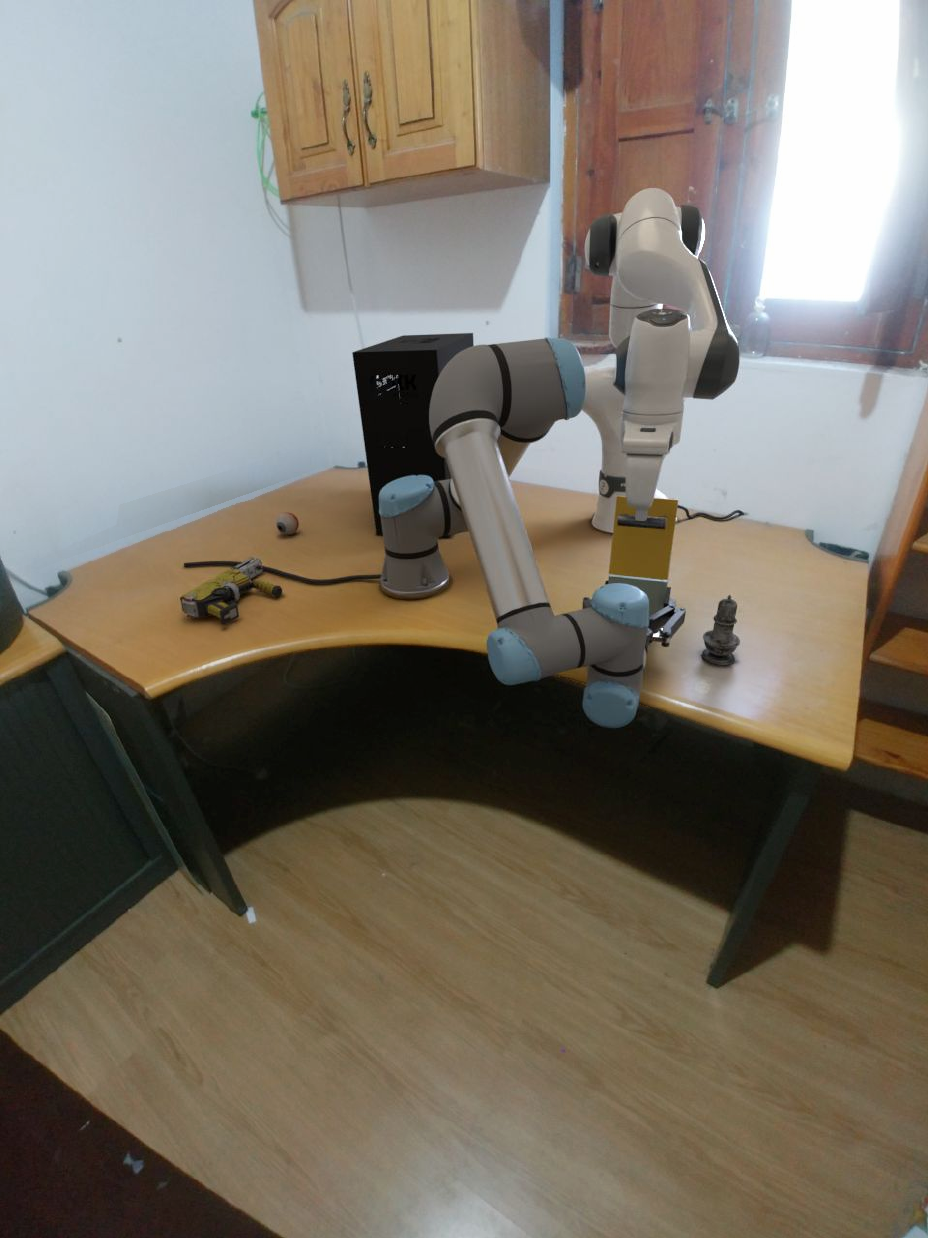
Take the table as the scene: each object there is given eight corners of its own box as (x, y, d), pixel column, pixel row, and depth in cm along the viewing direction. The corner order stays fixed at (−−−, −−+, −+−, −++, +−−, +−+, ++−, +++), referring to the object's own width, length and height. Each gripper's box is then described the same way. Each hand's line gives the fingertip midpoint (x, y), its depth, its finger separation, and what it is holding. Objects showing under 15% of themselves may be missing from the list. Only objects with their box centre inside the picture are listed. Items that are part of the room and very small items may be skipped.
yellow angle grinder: (303, 565, 139) (248, 554, 143) (236, 611, 119) (174, 596, 122) (305, 584, 141) (250, 572, 145) (239, 632, 121) (178, 617, 125)
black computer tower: (449, 537, 157) (436, 349, 134) (376, 534, 161) (352, 352, 139) (479, 491, 188) (473, 332, 166) (417, 489, 193) (403, 335, 170)
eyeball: (273, 537, 164) (268, 516, 161) (287, 528, 169) (282, 508, 166) (291, 539, 161) (286, 518, 158) (305, 530, 166) (301, 510, 163)
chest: (614, 592, 127) (618, 547, 121) (665, 598, 123) (671, 552, 118) (605, 624, 116) (608, 576, 111) (660, 631, 112) (667, 582, 107)
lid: (617, 495, 107) (611, 500, 98) (678, 499, 103) (677, 504, 95) (609, 572, 111) (602, 583, 103) (667, 578, 107) (665, 590, 99)
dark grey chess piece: (739, 667, 101) (752, 604, 95) (702, 664, 102) (713, 602, 96) (733, 648, 106) (745, 587, 100) (697, 646, 107) (708, 585, 101)
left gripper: (550, 661, 101) (575, 600, 118) (695, 683, 93) (699, 615, 111) (551, 622, 97) (577, 566, 115) (702, 642, 90) (705, 578, 107)
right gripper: (636, 416, 101) (629, 496, 107) (621, 444, 84) (613, 537, 91) (675, 417, 99) (666, 499, 105) (668, 445, 82) (657, 540, 89)
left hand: (637, 590), depth 113 cm, fingers closed on chest, 10 cm apart
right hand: (641, 517), depth 98 cm, fingers closed
